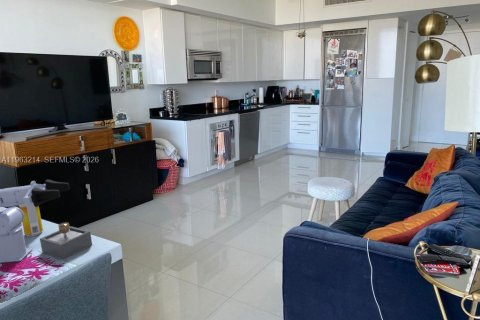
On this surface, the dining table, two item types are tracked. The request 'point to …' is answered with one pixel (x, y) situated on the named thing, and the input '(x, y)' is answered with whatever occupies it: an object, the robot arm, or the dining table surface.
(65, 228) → the plunger
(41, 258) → the dining table surface
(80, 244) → the grey square open box
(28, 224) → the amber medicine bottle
